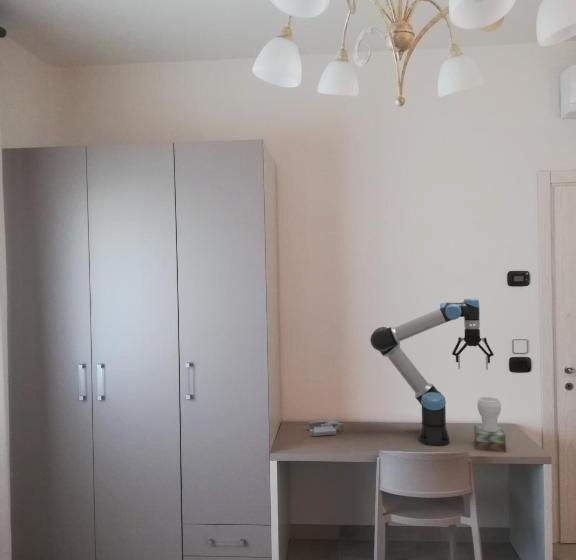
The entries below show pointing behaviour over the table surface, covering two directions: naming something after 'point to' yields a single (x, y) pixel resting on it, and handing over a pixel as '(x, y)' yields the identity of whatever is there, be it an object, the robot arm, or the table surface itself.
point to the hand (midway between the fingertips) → (472, 369)
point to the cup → (489, 413)
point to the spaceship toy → (324, 427)
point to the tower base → (490, 446)
